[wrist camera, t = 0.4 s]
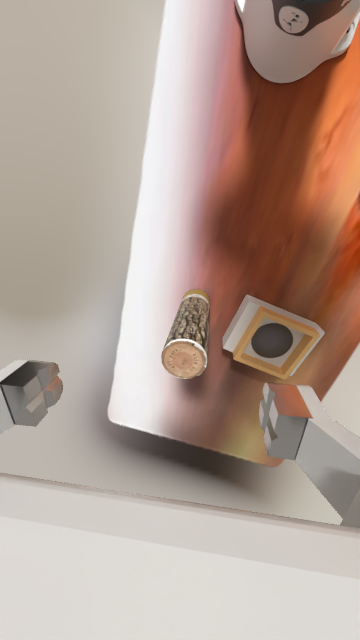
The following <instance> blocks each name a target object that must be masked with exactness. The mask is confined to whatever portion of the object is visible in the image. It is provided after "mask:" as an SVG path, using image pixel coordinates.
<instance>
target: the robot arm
mask: <svg viewBox="0 0 360 640" xmlns="http://www.w3.org/2000/svg"><path fill="white" fill-rule="evenodd" d="M235 5H236V9H237V11H238V14H239V16H240V18H241V20H242V22H243V28H244V40H245V47H246V51H247V55H248V58H249V60H250V62H251V64H252V66H253V67H254V69H255V70H256V71H257V72H258V73H259V74H260V75H261V76H262V77H263V78H265V79H267V80H269V81H271V82H275V83H289V82H293V81H296V80H298V79H301V78H302V77H304V76H306V75H307V74H309V73H310V72H312V71H313V70H314V69H315V68H316V67H317V66H319V65H320V64H321V63H322V62H324V61H325V60H328V59H331V58H334V57H337V56H339V55H341V54H343V53H344V52H345V51H346V50H347V48H348V47H349V45H350V44H351V42H352V39H353V36H354V33H355V30H356V28H357V25H358V22H359V19H360V0H235ZM347 30H348V33H346V32H347ZM59 372H60V371H59V367H58V365H57V364H56V363H53V362H44V361H36V360H26V359H19V360H16V361H14V362H13V363H11V364H10V365H8V366H7V367H5V368H4V369H3V370H1V371H0V434H2V433H3V432H5V431H7V430H8V429H9V428H11V427H13V426H14V424H15V425H25V426H37V425H38V423H39V422H40V421H41V420H42V419H43V418H44V416H45V415H46V414H47V413H48V407H51V406H53V405H54V404H56V402H57V401H58V400H59V399H60V396H61V394H62V391H63V385H62V381H61V379H60V378H59V377H58V376H57V375H58V373H59ZM262 392H263V395H264V399H262V400H261V401H260V407H259V419H260V425H261V428H262V429H263V430H264V431H265V435H264V442H265V446H266V450H267V454H268V456H270V457H277V458H283V459H290V460H295V462H296V464H297V465H298V466H299V467H300V468H301V470H303V472H304V473H305V474H306V475H307V477H308V478H309V479H310V480H311V481H312V483H313V484H314V485H315V486H316V487H317V489H318V490H319V491H320V492H321V493H322V495H323V496H324V497H325V498H326V499H327V500H328V502H329V503H330V504H331V505H332V506H333V508H334V509H335V510H336V511H337V512H338V514H339V515H340V516H341V517H342V518H343V521H342V523H341V524H340V525H334V524H328V523H322V522H315V521H308V520H303V519H296V518H290V517H283V516H277V515H270V514H264V513H257V512H251V511H244V510H238V509H232V508H225V507H218V506H212V505H205V504H199V503H192V502H185V501H179V500H173V499H166V498H160V497H153V496H146V495H140V494H133V493H127V492H121V491H114V490H108V489H101V488H95V487H89V486H82V485H76V484H69V483H63V482H57V481H50V480H43V479H37V478H31V477H24V476H18V475H12V474H5V473H0V640H360V437H358V436H357V435H355V434H354V433H353V432H351V431H350V430H348V429H347V428H346V427H344V426H343V425H341V424H340V423H338V422H337V421H332V420H331V418H330V417H329V415H328V414H327V412H326V410H325V409H324V407H323V405H322V404H321V402H320V400H319V399H318V397H317V396H316V394H315V392H314V391H313V389H312V387H310V386H308V385H288V384H276V383H265V384H264V387H263V391H262Z"/></svg>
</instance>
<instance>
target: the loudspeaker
mask: <svg viewBox="0 0 360 640" xmlns="http://www.w3.org/2000/svg"><path fill="white" fill-rule="evenodd" d="M324 334H325V332H324V331H323V330H322V329H321V328H320V327H319V326H318V325H317V323H315V322H312V321H310V320H308V319H305V318H303V317H300V316H298V315H296V314H293V313H291V312H288V311H286V310H284V309H281V308H279V307H276V306H274V305H271V304H269V303H267V302H264V301H262V300H259V299H257V298H255V297H252V296H250V295H247V294H246V296H245V298H244V299H243V301H242V303H241V305H240V307H239V309H238V310H237V312H236V314H235V316H234V318H233V320H232V321H231V323H230V325H229V327H228V329H227V331H226V332H225V334H224V336H223V338H222V341H223V349H226V350H228V351H231V352H233V359H234V360H236V361H239V362H241V363H244V364H246V365H248V366H251V367H253V368H256V369H258V370H261V371H263V372H266V373H268V374H271V375H273V376H276V377H278V378H281V379H283V380H286V379H287V378H288V377H289V375H290V376H292V375H293V374H294V372H295V371H296V370H297V368H298V367H299V366H300V365H301V363H302V362H303V361H304V359H305V358H306V357H307V356H308V354H309V353H310V352H311V351H312V349H313V348H314V347H315V345H316V344H317V343H318V342H319V340H320V339H321V338H322V336H323V335H324Z"/></svg>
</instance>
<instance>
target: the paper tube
mask: <svg viewBox="0 0 360 640" xmlns="http://www.w3.org/2000/svg"><path fill="white" fill-rule="evenodd" d="M209 316H210V299H209V297H208V295H207V294H206V293H205V292H203V291H201V290H198V289H194V290H190V291H188V292H187V293H186V294H185V295H184V297H183V299H182V302H181V304H180V307H179V309H178V312H177V315H176V317H175V320H174V323H173V325H172V328H171V330H170V333H169V336H168V338H167V341H166V344H165V346H164V349H163V352H162V356H161V360H162V364H163V366H164V368H165V369H166V370H167V372H169V373H170V374H171V375H173V376H175V377H177V378H181V379H191V378H194V377H197V376H199V375H200V374H201V373H202V372H203V371H204V370H205V368H206V365H207V355H208V336H209Z"/></svg>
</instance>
